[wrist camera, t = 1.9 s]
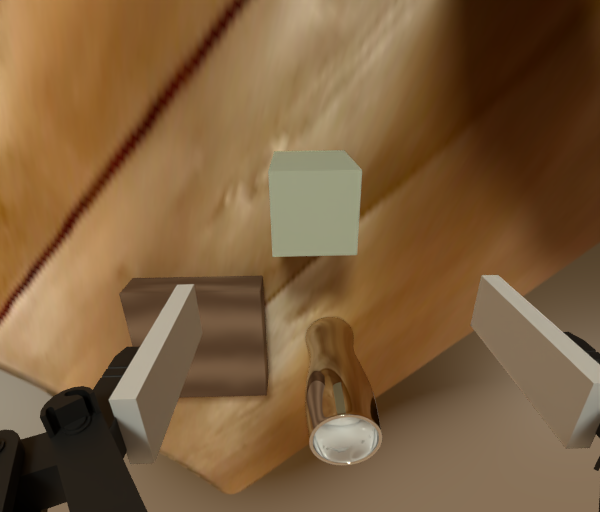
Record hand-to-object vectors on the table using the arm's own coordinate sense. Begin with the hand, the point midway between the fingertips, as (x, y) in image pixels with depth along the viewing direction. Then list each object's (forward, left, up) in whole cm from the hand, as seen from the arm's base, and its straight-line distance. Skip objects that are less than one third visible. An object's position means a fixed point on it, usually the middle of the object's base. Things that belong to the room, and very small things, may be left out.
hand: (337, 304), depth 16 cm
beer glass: (+19, +2, -23) cm, 30 cm away
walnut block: (+18, -13, -23) cm, 32 cm away
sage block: (0, 0, -23) cm, 23 cm away
